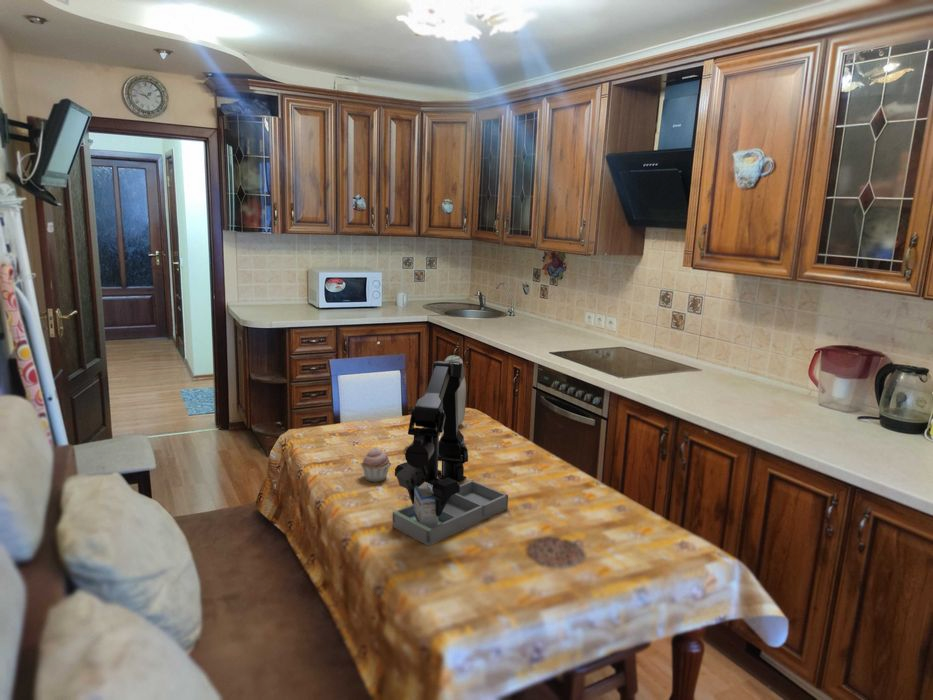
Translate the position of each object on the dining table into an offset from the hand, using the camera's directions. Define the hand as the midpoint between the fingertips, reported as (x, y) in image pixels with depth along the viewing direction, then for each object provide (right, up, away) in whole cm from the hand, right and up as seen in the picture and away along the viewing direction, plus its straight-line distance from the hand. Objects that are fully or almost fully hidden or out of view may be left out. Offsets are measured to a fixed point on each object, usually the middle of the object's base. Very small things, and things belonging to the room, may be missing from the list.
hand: (425, 509), depth 162 cm
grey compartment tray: (+7, -4, +8) cm, 11 cm away
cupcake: (-17, +1, +32) cm, 36 cm away
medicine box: (0, -3, +1) cm, 3 cm away
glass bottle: (+5, +11, +81) cm, 82 cm away
